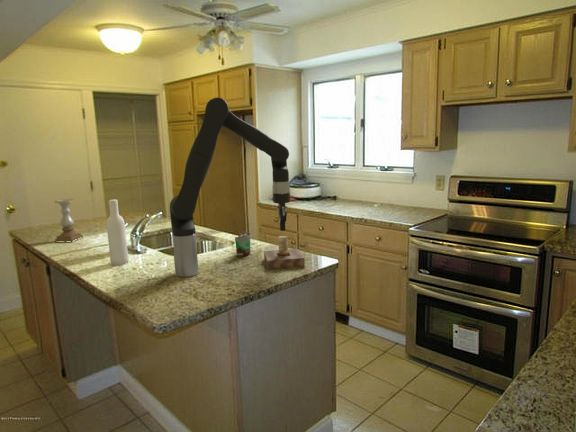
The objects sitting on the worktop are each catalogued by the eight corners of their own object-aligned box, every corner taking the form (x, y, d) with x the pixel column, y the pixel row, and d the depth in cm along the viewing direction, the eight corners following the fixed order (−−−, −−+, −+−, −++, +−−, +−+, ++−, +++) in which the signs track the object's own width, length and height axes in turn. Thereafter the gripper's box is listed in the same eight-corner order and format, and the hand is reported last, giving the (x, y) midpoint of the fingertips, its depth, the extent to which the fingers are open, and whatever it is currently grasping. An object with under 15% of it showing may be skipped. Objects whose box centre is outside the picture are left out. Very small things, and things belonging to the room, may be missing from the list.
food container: (248, 258, 196) (247, 237, 194) (235, 257, 197) (234, 237, 195) (255, 251, 208) (254, 231, 206) (243, 250, 209) (242, 231, 207)
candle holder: (67, 237, 251) (61, 198, 246) (83, 238, 249) (78, 198, 245) (54, 242, 240) (49, 201, 236) (72, 242, 238) (66, 201, 234)
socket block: (267, 269, 177) (267, 260, 177) (264, 259, 193) (264, 251, 192) (304, 266, 180) (304, 258, 179) (298, 256, 195) (297, 248, 195)
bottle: (107, 263, 194) (100, 200, 188) (124, 259, 200) (117, 198, 194) (115, 266, 189) (108, 201, 183) (131, 262, 194) (125, 199, 189)
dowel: (279, 264, 184) (278, 238, 182) (278, 261, 188) (277, 236, 186) (289, 263, 185) (288, 237, 183) (287, 261, 189) (286, 235, 187)
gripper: (270, 190, 186) (272, 227, 190) (274, 194, 173) (276, 234, 177) (287, 189, 187) (288, 226, 191) (292, 193, 175) (293, 233, 178)
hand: (282, 230), depth 184 cm, fingers closed
